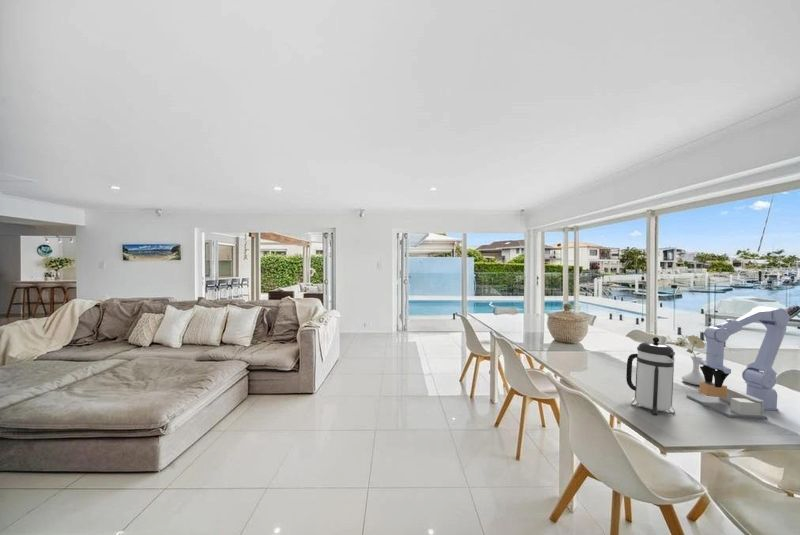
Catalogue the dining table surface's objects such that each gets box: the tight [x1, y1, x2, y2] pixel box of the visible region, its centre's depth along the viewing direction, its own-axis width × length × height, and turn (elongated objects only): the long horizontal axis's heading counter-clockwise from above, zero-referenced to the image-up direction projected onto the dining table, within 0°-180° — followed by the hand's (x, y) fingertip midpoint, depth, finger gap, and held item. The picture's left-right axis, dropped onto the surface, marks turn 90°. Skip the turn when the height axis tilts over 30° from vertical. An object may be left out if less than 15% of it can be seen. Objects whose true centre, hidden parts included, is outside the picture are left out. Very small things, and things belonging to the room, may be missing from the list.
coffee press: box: [625, 336, 676, 416], centre depth 149 cm, size 17×16×30 cm
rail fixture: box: [686, 386, 768, 420], centre depth 154 cm, size 15×22×7 cm
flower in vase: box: [681, 334, 705, 386], centre depth 188 cm, size 13×11×25 cm
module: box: [698, 381, 728, 398], centre depth 158 cm, size 8×4×5 cm, turn 87°
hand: (713, 385), depth 158 cm, fingers closed on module, 4 cm apart
